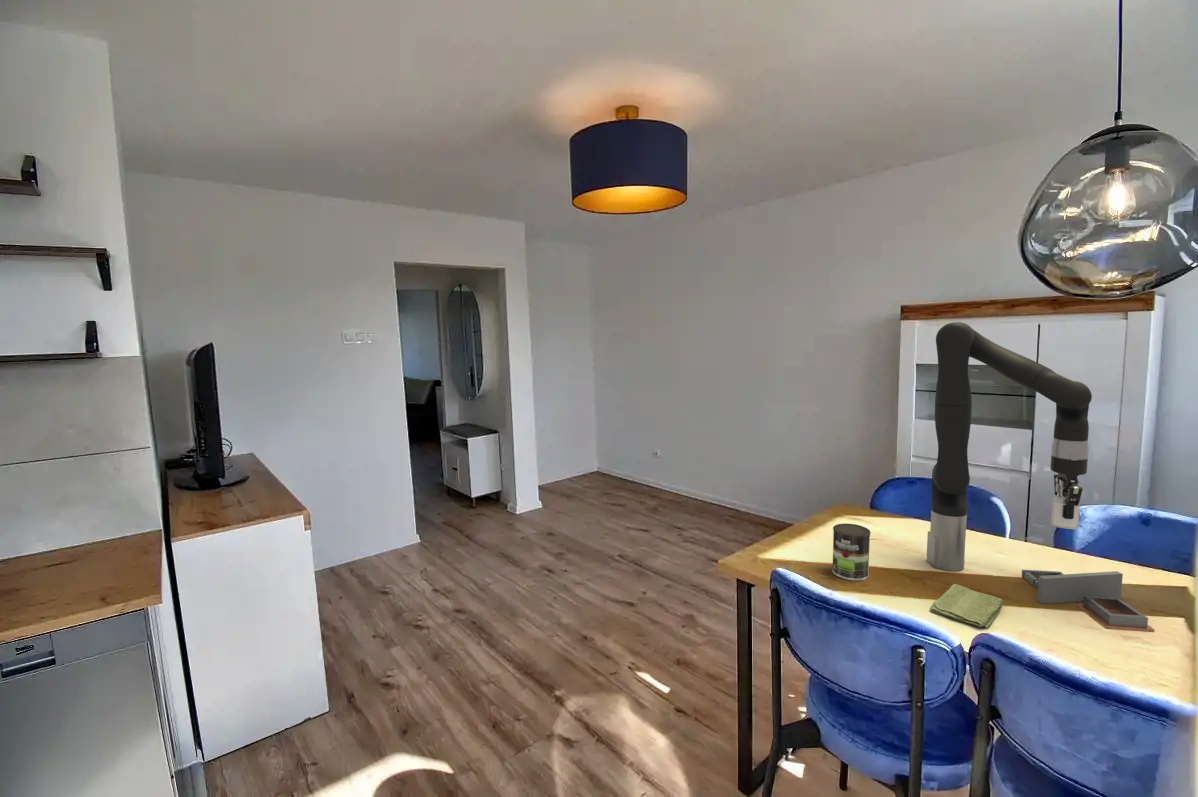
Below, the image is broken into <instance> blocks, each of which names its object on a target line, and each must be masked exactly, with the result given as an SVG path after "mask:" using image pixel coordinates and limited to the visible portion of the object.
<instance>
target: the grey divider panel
mask: <svg viewBox="0 0 1198 797" xmlns="http://www.w3.org/2000/svg"><path fill="white" fill-rule="evenodd" d="M1063 574H1064V573H1063ZM1123 575H1124V574H1123V573H1122V572H1119V571H1118V570H1117V571H1116V570H1115V571H1100V572H1099V571H1098V572H1083V573H1068V574H1064V575H1048V576H1039V578H1038V580H1039V584H1038V589H1037V602H1039V603H1041V604H1054V603H1055V604H1056V603H1057V604H1058V603H1073V602H1083V598H1084V596H1095V597H1111V598H1120V599H1121V598H1122V586H1123Z"/></svg>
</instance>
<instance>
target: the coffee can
mask: <svg viewBox="0 0 1198 797" xmlns="http://www.w3.org/2000/svg"><path fill="white" fill-rule="evenodd" d="M832 530H833V539H832V541H833V543H832V569H831V571H832V573H833V574H834V575H835V576H836V577H838V578H841V579H843V580H848V581H853V582H854V581H855V582H856V581H857V582H861V581H865V580H867V579H869V571H870V570H869V569H870V568H869V567H870V543H871V542H870V541H871V540H870V539H871V530H870V529H869V528H867V527H865V526H863V525H859V524H857V523H856V524H855V523H854V524H853V523H838V524H835V525H834V526H833V527H832Z"/></svg>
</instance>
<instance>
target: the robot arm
mask: <svg viewBox="0 0 1198 797" xmlns="http://www.w3.org/2000/svg"><path fill="white" fill-rule="evenodd" d="M935 346H936V353H937V354H936V355H937V366H938V367H937V368H938V371H937V372H938V373H937V379H936V387H935V398H934V426H935V427H934V428H935V433H936V439H937V446H938V447H937V460H936V461H937V462H936V463H935V465H934V466H933V468H932V472H931V491H930V493H931V496H930V498H931V499H930V501H931V502H930V503H931V504H930V505H931V508H930V509H931V512H930V528H929V529H930V530H929V531H927V538H926V542H927V543H926V561H927V562H928V563H929V564H930V565H931V566H932V568H934V569H936V568H937V569H939V570H945V571H949V572H951V571H952V572H953V571H955V572H956V571H957V572H958V571H959V572H960V571H962V570H963V569H964V568H965V555H966V554H965V552H966V537H967V536H966V535H967V534H966V532H967V520H968V518H967V517H968V500H967V491H968V490H967V489H968V487H969V485H970V483H971V482H970V481H971V478H970V471H969V459H968V447H969V446H968V445H969V441H970V440H969V439H970V434H971V433H970V432H971V426H972V425H971V423H972V409H973V408H972V406H973V403H972V401H973V399H972V398H973V397H972V388H971V383H970V382H971V381H970V377H969V361H970V358H971V359H974V360H977V361H978V362H981V363H983V364H985V365H986V366H988V367H990V368H991V369H993V370H994V371H996V372H998V374H999V373H1000V374H1001V375H1003V376H1004V377H1006V378H1008V379H1009V380H1011V381H1014V382H1016V383H1017V384H1019V385H1021V386H1023V387H1025V388H1027V389H1028V390H1029V389H1030V390H1031V391H1034V392H1035V393H1039V394H1040V395H1041V396H1043V397H1044V398H1046V399H1048V400H1050V401H1052V402H1053V403H1055V408H1056V409H1055V410H1056V411H1055V413H1056V414H1055V422H1054V428H1053V440H1052V442H1051V443H1052V444H1051V454H1050V465H1049V466H1050V468H1049V469H1050V471H1052V472H1053V473H1056V474H1053V488H1054V496H1055V497H1061V496H1063V513H1062V517H1063V518H1065V519H1073V518H1074V506H1078V505H1079V503H1080V500H1081V497H1082V492H1083V487H1082V486H1080V481H1079V478H1078V477H1079V476H1083V475H1086V474H1087V473H1088V463H1089V462H1088V461H1089V432H1090V431H1089V430H1090V429H1089V428H1090V426H1089V420H1088V416H1089V408H1090V403H1091V401H1092V400H1093V399H1092V398H1093V394H1092V392H1091V390H1090V388H1089V387H1088V385H1087V384H1085V383H1083V382H1081V381H1074V380H1071V379H1069V378H1067V377H1065V376H1063V375H1061V374H1059V373H1057V372H1055V371H1054V370H1053V369H1051V368H1050V367H1047V366H1046V365H1043V364H1041V363H1039V362H1037V361H1035V360H1033V359H1031V358H1028V357H1026V356H1024V355H1022V354H1020V353H1017V352H1014V351H1013V350H1010V349H1008V348H1006V347H1003V346H1001V345H999V344H997V343H996V342H993V341H992V340H990V339H988V338H986V337H985V336H984V335H982V334H980V333H979V332H977V331H976V330H974V328H972V326H970V325H969V324H967V323H965V322H960V321H955V322H949V323H947V324H944V325H943V326H941V328H939V330H937V333H936V335H935ZM1065 492H1066V493H1068V494H1065ZM1070 499H1072V501H1070Z"/></svg>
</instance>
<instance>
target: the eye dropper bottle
mask: <svg viewBox="0 0 1198 797" xmlns="http://www.w3.org/2000/svg"><path fill="white" fill-rule="evenodd" d="M1065 494H1068V493H1066V492H1065ZM1070 501H1072V499H1070ZM1051 504H1052V505H1051V519H1050V524H1051V525H1052V527H1056V528H1060V529H1067V530H1078V528H1079V518H1080V507H1081V506H1080V505H1081V504H1080V502H1079V505H1078V506H1074V518H1073V519H1065V518H1063V517H1062V513H1063V496H1061V497H1057V496H1055V497H1054V498H1052V503H1051Z"/></svg>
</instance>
